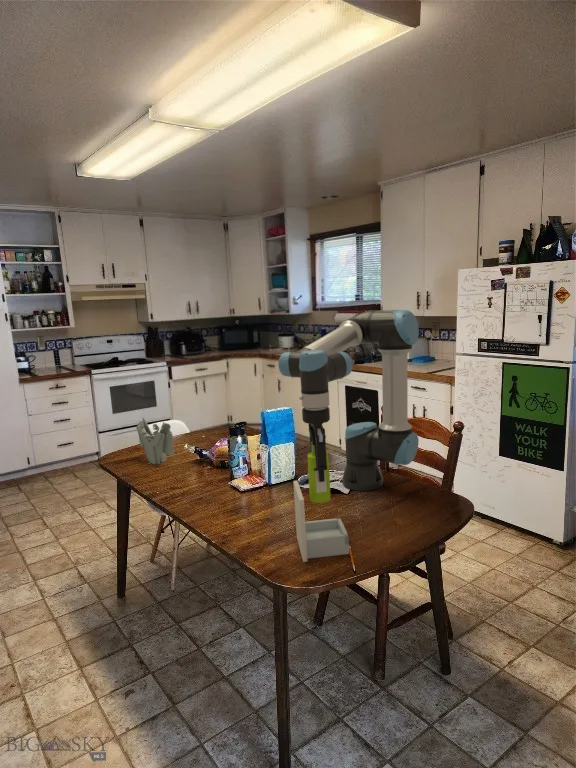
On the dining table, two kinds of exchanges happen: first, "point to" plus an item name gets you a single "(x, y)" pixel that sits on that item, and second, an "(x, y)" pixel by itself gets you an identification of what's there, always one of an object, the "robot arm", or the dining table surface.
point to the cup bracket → (318, 533)
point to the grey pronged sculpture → (156, 441)
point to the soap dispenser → (315, 496)
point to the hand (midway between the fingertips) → (319, 486)
